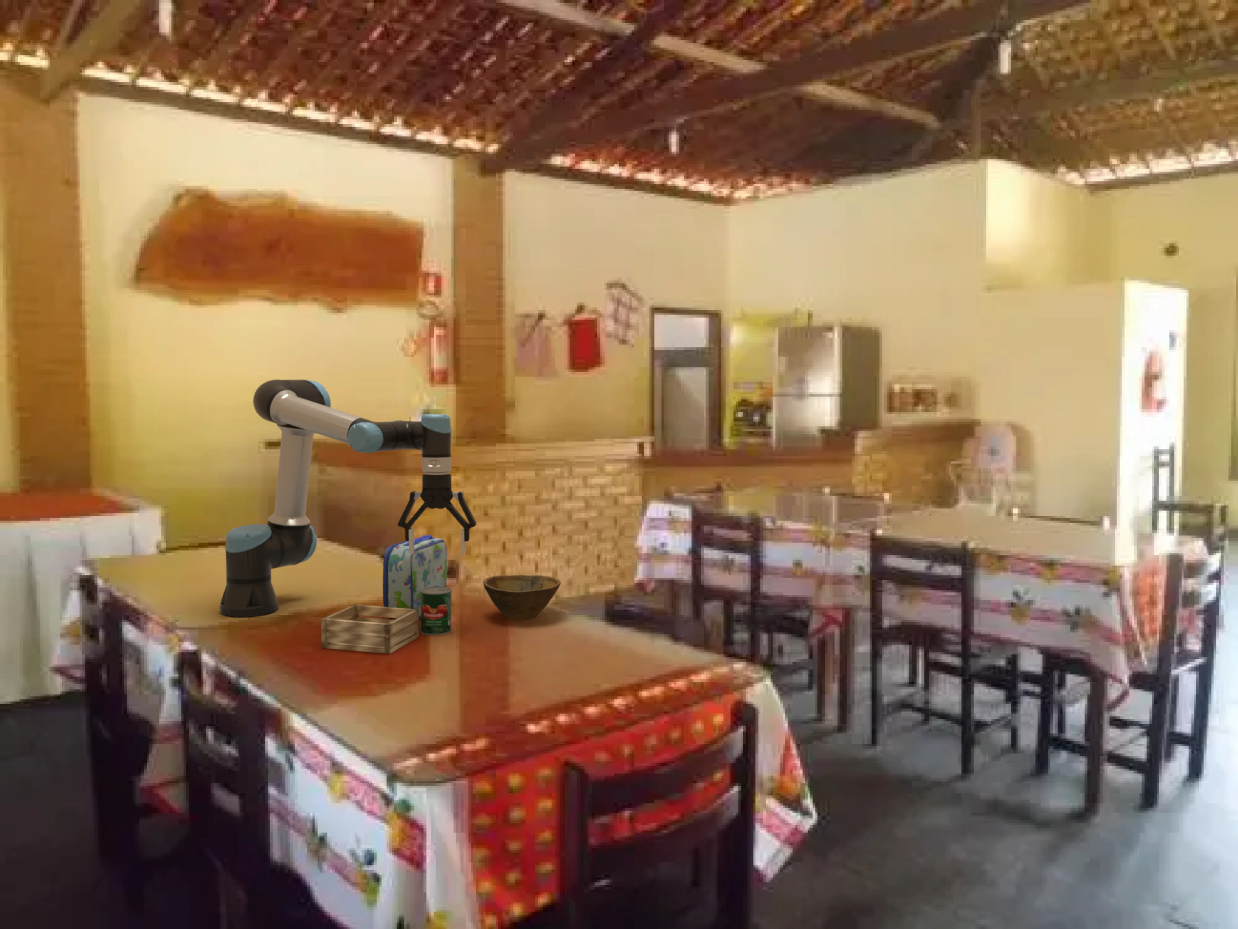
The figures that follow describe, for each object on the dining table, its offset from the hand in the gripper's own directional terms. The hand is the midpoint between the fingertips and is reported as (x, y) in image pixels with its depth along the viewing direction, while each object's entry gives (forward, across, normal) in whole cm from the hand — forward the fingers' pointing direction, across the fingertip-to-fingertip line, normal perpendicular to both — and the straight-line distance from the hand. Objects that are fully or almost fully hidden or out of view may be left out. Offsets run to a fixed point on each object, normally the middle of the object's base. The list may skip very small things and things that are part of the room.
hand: (437, 553), depth 249 cm
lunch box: (+20, -10, +16) cm, 27 cm away
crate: (+20, -14, -16) cm, 28 cm away
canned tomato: (+20, 0, -4) cm, 20 cm away
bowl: (+20, +21, +14) cm, 32 cm away
